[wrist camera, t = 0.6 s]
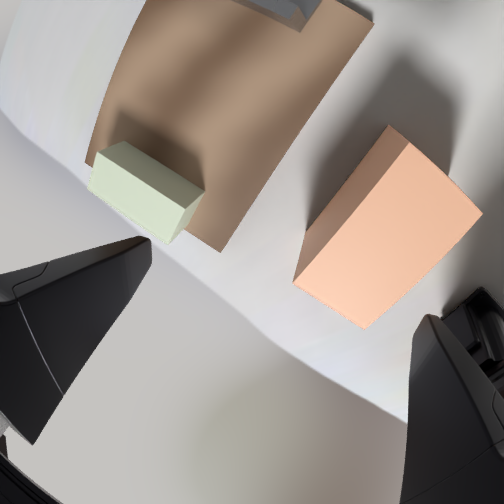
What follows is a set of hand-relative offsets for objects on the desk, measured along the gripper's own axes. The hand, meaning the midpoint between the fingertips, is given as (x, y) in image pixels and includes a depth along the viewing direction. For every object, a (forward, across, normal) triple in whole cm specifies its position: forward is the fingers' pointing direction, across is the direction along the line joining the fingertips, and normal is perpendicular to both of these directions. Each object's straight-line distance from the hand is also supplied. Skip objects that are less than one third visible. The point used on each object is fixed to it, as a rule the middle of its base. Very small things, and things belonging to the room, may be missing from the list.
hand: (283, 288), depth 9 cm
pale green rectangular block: (+11, +11, +2) cm, 16 cm away
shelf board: (+11, +8, -4) cm, 15 cm away
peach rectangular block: (+12, -4, +1) cm, 13 cm away
